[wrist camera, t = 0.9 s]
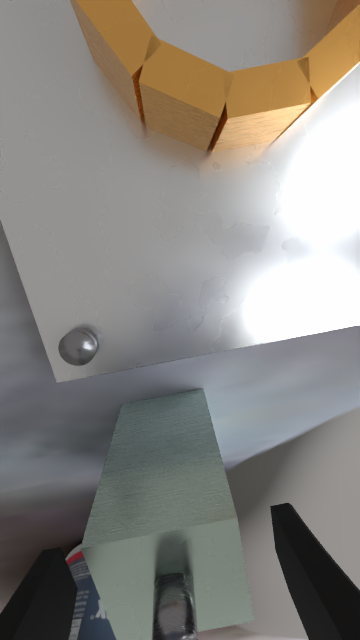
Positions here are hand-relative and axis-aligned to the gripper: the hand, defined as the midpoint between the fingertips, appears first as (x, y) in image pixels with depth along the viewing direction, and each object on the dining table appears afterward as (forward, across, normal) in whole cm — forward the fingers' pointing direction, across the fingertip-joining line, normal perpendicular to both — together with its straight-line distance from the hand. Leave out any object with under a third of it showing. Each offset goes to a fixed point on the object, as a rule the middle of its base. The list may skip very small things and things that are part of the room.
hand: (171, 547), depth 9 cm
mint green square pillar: (+6, 0, 0) cm, 6 cm away
